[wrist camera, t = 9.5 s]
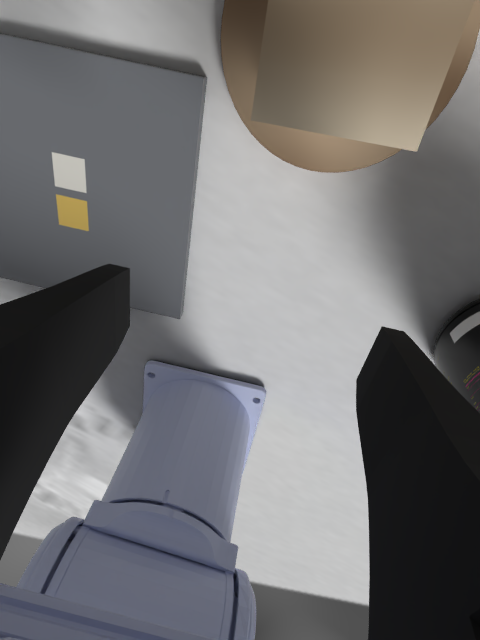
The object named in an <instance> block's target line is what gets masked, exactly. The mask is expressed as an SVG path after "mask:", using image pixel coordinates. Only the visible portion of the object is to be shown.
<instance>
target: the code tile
mask: <svg viewBox="0 0 480 640" xmlns="http://www.w3.org/2000/svg"><path fill="white" fill-rule="evenodd" d="M206 82H207V77H203V76H199V75H194V74H189V73H185V72H180V71H175V70H171V69H166V68H161V67H157V66H152V65H147V64H143V63H138V62H133V61H129V60H124V59H119V58H115V57H110V56H105V55H100V54H96V53H91V52H86V51H82V50H77V49H72V48H68V47H63V46H58V45H54V44H49V43H44V42H40V41H35V40H30V39H26V38H21V37H16V36H12V35H7V34H2V33H0V277H2V278H6V279H11V280H15V281H19V282H23V283H28V284H32V285H36V286H40V287H45V288H49V287H51V286H54V285H56V284H58V283H61V282H63V281H66V280H68V279H71V278H73V277H76V276H78V275H80V274H83V273H85V272H88V271H90V270H92V269H95V268H98V267H100V266H103V265H106V264H114V265H118V266H122V267H127V268H130V308H134V309H139V310H143V311H147V312H151V313H156V314H160V315H164V316H169V317H173V318H177V319H180V318H181V316H182V314H183V306H184V296H185V286H186V276H187V267H188V257H189V247H190V238H191V228H192V218H193V208H194V199H195V189H196V179H197V170H198V160H199V150H200V140H201V131H202V121H203V111H204V102H205V92H206Z"/></svg>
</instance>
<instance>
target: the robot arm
mask: <svg viewBox="0 0 480 640" xmlns="http://www.w3.org/2000/svg"><path fill="white" fill-rule="evenodd" d="M129 326H130V268H127V267H122V266H118V265H114V264H106V265H103V266H100V267H98V268H95V269H92V270H90V271H88V272H85V273H83V274H80V275H78V276H76V277H73V278H71V279H68V280H66V281H63V282H61V283H58V284H56V285H54V286H51V287H49V288H46V289H43V290H41V291H38V292H35V293H32V294H30V295H27V296H24V297H21V298H18V299H16V300H13V301H10V302H7V303H4V304H1V305H0V560H1V557H2V555H3V553H4V551H5V548H6V546H7V544H8V542H9V540H10V537H11V535H12V533H13V531H14V529H15V527H16V524H17V522H18V520H19V518H20V516H21V514H22V512H23V510H24V508H25V506H26V504H27V502H28V500H29V497H30V495H31V493H32V491H33V489H34V487H35V485H36V483H37V481H38V479H39V478H40V476H41V474H42V472H43V470H44V468H45V466H46V464H47V462H48V460H49V458H50V456H51V454H52V452H53V451H54V449H55V447H56V445H57V443H58V441H59V440H60V438H61V436H62V434H63V432H64V430H65V429H66V427H67V425H68V424H69V422H70V420H71V419H72V417H73V416H74V414H75V412H76V411H77V410H78V408H79V407H80V405H81V404H82V402H83V401H84V399H85V398H86V397H87V395H88V394H89V392H90V391H91V389H92V388H93V387H94V385H95V384H96V382H97V381H98V379H99V378H100V376H101V375H102V374H103V372H104V371H105V369H106V368H107V366H108V365H109V363H110V362H111V360H112V359H113V357H114V356H115V354H116V353H117V351H118V349H119V347H120V345H121V343H122V341H123V339H124V337H125V335H126V333H127V331H128V328H129ZM150 372H152V373H154V374H151V373H150ZM265 397H266V390H265V388H263V387H261V386H258V385H254V384H250V383H246V382H241V381H237V380H233V379H229V378H225V377H220V376H216V375H212V374H208V373H204V372H199V371H195V370H191V369H187V368H183V367H178V366H174V365H170V364H166V363H162V362H157V361H152V360H151V361H148V362H147V363H146V365H145V367H144V392H143V414H142V417H141V419H140V421H139V423H138V425H137V427H136V429H135V431H134V433H133V435H132V438H131V440H130V442H129V444H128V446H127V448H126V450H125V452H124V454H123V456H122V459H121V461H120V463H119V465H118V467H117V469H116V471H115V473H114V475H113V477H112V480H111V482H110V484H109V486H108V488H107V490H106V492H105V494H104V496H103V498H102V501H99V500H94V502H93V504H92V506H91V508H90V510H89V512H88V514H87V516H86V518H85V520H83V519H80V518H77V517H71V518H69V519H67V520H66V521H65V522H64V523H62V524H60V525H58V526H56V527H55V528H54V529H52V530H51V531H50V533H49V534H48V535H47V536H46V538H45V539H44V540H43V542H42V543H41V545H40V546H39V548H38V550H37V551H36V553H35V554H34V556H33V557H32V559H31V561H30V563H29V565H28V566H27V568H26V570H25V572H24V573H23V575H22V577H21V579H20V581H19V583H18V585H17V587H13V586H9V585H6V584H2V583H0V640H255V628H256V600H255V595H254V591H253V589H252V587H251V585H250V582H249V578H248V576H247V574H246V572H244V571H242V570H239V569H236V568H235V564H236V558H237V551H238V546H237V545H235V544H232V543H230V541H231V535H232V529H233V523H234V518H235V512H236V506H237V500H238V494H239V489H240V483H241V477H242V474H243V471H244V467H245V464H246V461H247V457H248V454H249V451H250V447H251V444H252V441H253V437H254V434H255V431H256V427H257V424H258V421H259V417H260V414H261V411H262V407H263V404H264V401H265ZM255 398H259V399H255ZM356 411H357V419H358V427H359V434H360V441H361V448H362V455H363V462H364V469H365V476H366V483H367V493H368V510H369V553H370V589H369V634H368V635H369V636H368V640H480V413H479V412H478V411H477V410H476V409H475V408H474V407H473V406H472V405H471V404H470V403H469V402H468V401H467V400H466V399H465V398H464V397H463V396H462V395H461V394H460V393H459V392H458V391H457V389H456V388H455V387H454V386H453V385H452V384H451V383H450V382H449V381H448V380H447V379H446V378H445V376H444V375H443V374H442V373H441V372H440V371H439V370H438V369H437V367H436V366H435V365H434V364H433V363H432V362H431V361H430V359H429V358H428V357H427V356H426V355H425V354H424V353H423V351H422V350H421V349H420V348H419V347H418V346H417V345H416V344H415V342H414V341H413V340H412V339H411V338H410V337H409V336H408V335H407V334H406V333H405V332H404V331H399V330H395V329H391V328H386V327H381V330H380V332H379V334H378V336H377V338H376V340H375V342H374V344H373V346H372V348H371V351H370V353H369V355H368V357H367V359H366V361H365V363H364V365H363V367H362V369H361V371H360V374H359V376H358V378H357V387H356Z"/></svg>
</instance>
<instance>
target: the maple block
mask: <svg viewBox="0 0 480 640" xmlns="http://www.w3.org/2000/svg"><path fill="white" fill-rule="evenodd" d="M474 2H475V0H268V5H267V12H266V19H265V26H264V33H263V40H262V46H261V53H260V60H259V67H258V74H257V81H256V87H255V94H254V101H253V108H252V115H251V120H252V121H257V122H262V123H267V124H273V125H278V126H283V127H288V128H294V129H299V130H304V131H309V132H315V133H320V134H325V135H331V136H336V137H341V138H346V139H352V140H357V141H362V142H367V143H373V144H378V145H383V146H389V147H394V148H399V149H404V150H410V151H415V152H417V150H418V147H419V145H420V142H421V139H422V137H423V134H424V132H425V129H426V126H427V124H428V121H429V119H430V116H431V113H432V111H433V108H434V106H435V103H436V101H437V98H438V95H439V93H440V90H441V88H442V85H443V82H444V80H445V77H446V75H447V72H448V69H449V67H450V64H451V62H452V59H453V56H454V54H455V51H456V49H457V46H458V43H459V41H460V38H461V36H462V33H463V30H464V28H465V25H466V23H467V20H468V17H469V15H470V12H471V10H472V7H473V4H474Z"/></svg>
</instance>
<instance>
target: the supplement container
mask: <svg viewBox="0 0 480 640" xmlns="http://www.w3.org/2000/svg"><path fill="white" fill-rule="evenodd" d="M434 362H435V365H436V367H437V369H438V370H439V371H440V372H441V373H442V374H443V375H444V376H445V378H446V379H447V380H448V381H449V382H450V383H451V384H452V385H453V386H454V387H455V388H456V389H457V391H458V392H459V393H460V394H461V395H462V396H463V397H464V398H465V399H466V400H467V401H468V402H469V403H470V404H471V405H472V406H473V407H474V408H475V409H476V410H477V411H478V412H479V413H480V299H478V300H476V301H474V302H472V303H470V304H468V305H466V306H465V307H463V308H462V309H460V310H459V311H458V312H456V313H455V314H454V315H453V316H452V317H451V318H450V319H449V320H448V321H447V322H446V323H445V325H444V326H443V327H442V329H441V331H440V332H439V334H438V337H437V339H436V343H435V347H434Z"/></svg>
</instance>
